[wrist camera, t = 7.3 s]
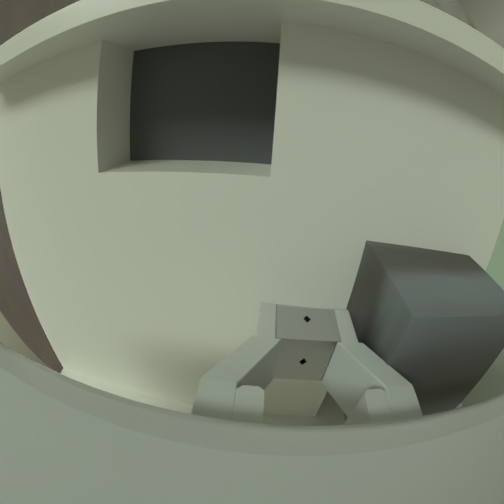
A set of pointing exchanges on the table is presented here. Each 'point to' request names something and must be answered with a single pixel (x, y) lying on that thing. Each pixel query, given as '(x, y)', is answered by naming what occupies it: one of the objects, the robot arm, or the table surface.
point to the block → (428, 319)
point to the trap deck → (238, 174)
